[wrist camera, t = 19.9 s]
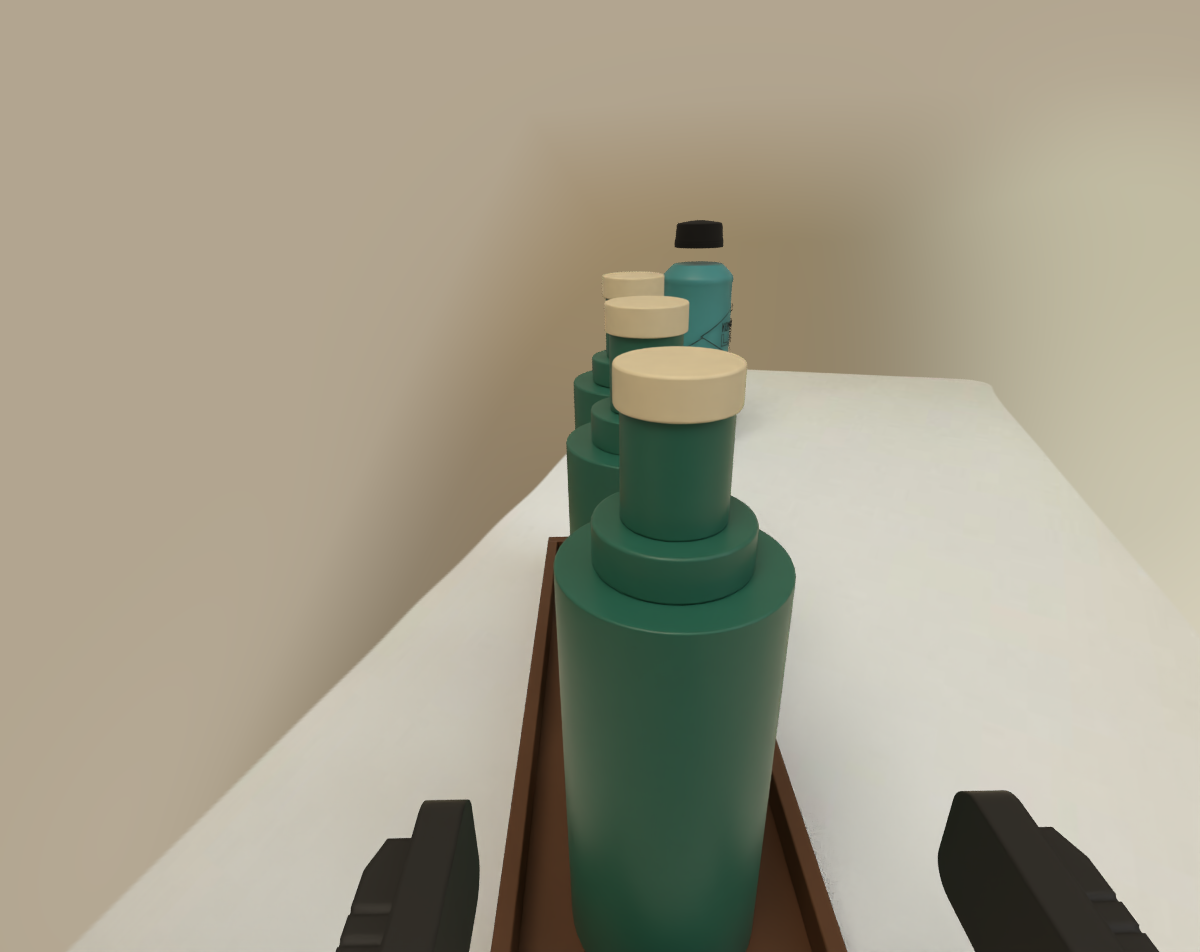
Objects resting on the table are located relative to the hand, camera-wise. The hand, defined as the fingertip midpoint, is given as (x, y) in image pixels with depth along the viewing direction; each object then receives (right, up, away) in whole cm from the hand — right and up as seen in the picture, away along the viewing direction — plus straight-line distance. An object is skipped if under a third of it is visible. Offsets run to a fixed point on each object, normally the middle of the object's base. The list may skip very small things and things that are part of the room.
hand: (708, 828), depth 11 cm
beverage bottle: (+7, +9, +51) cm, 52 cm away
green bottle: (0, -8, +10) cm, 13 cm away
